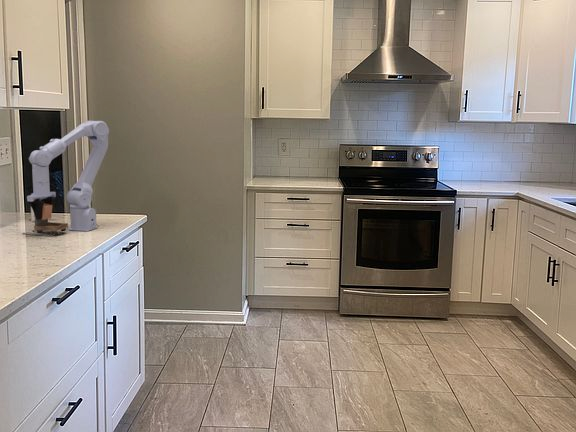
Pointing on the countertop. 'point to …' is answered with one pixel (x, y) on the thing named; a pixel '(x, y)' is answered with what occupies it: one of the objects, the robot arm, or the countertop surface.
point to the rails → (40, 234)
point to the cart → (49, 226)
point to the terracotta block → (46, 211)
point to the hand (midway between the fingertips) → (42, 217)
